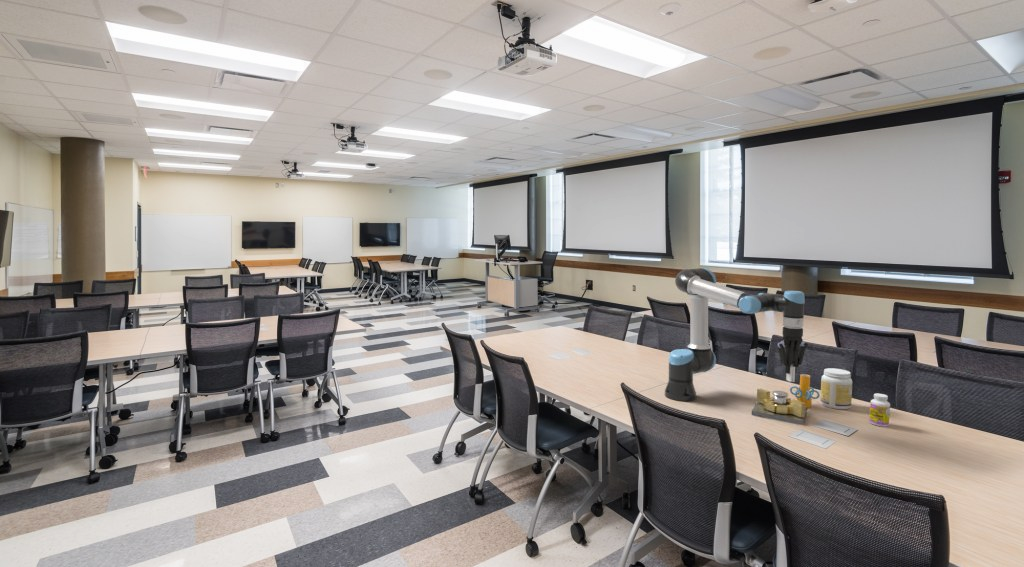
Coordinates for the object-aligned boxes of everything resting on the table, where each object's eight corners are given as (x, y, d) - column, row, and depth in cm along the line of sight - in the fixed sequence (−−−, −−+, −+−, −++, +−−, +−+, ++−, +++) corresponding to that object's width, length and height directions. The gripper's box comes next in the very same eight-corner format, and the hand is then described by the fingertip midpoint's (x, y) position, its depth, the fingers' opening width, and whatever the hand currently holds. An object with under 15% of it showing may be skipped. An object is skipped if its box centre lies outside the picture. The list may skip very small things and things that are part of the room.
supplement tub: (852, 405, 222) (855, 370, 221) (848, 412, 214) (851, 376, 212) (822, 399, 231) (824, 366, 229) (817, 406, 222) (819, 371, 220)
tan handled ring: (749, 402, 220) (749, 390, 219) (767, 399, 225) (768, 387, 224) (793, 419, 200) (793, 405, 199) (812, 414, 205) (813, 401, 204)
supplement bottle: (865, 422, 202) (867, 393, 200) (874, 420, 204) (876, 391, 203) (882, 428, 195) (884, 398, 194) (892, 425, 198) (894, 396, 197)
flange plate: (751, 414, 211) (752, 394, 211) (758, 403, 226) (759, 383, 225) (803, 425, 199) (804, 403, 199) (807, 412, 214) (808, 391, 213)
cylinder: (821, 411, 215) (823, 379, 214) (796, 409, 217) (798, 378, 216) (810, 402, 227) (812, 372, 226) (787, 400, 229) (788, 371, 228)
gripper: (783, 329, 195) (781, 384, 197) (814, 328, 196) (811, 382, 198) (772, 325, 202) (770, 378, 205) (801, 325, 204) (798, 377, 206)
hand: (790, 380), depth 201 cm, fingers closed
